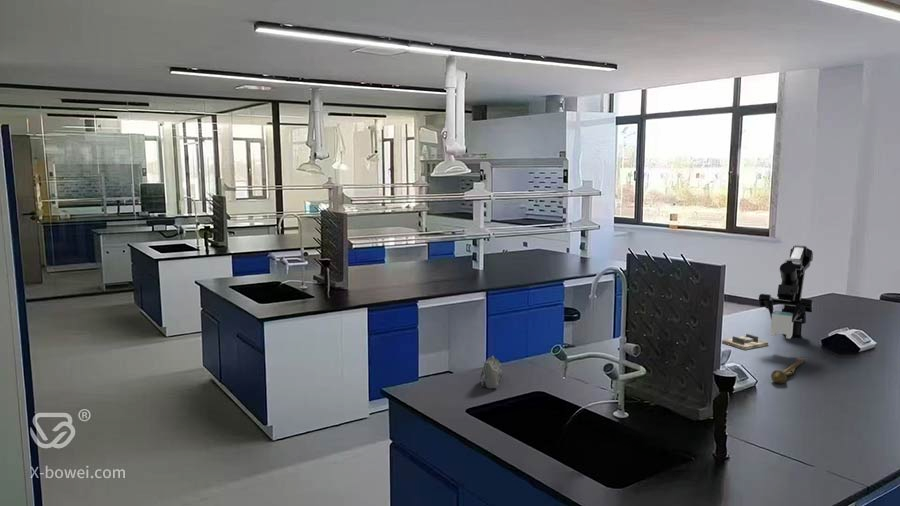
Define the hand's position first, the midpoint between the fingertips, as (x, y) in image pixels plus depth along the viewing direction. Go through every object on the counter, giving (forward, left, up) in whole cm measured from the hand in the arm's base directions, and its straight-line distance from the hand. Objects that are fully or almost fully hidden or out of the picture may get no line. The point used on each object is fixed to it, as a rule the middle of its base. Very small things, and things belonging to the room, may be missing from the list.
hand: (781, 320), depth 237 cm
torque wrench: (+2, +24, -14) cm, 28 cm away
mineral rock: (+102, +63, -14) cm, 121 cm away
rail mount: (+11, -10, -13) cm, 20 cm away
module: (-1, -1, -7) cm, 7 cm away
